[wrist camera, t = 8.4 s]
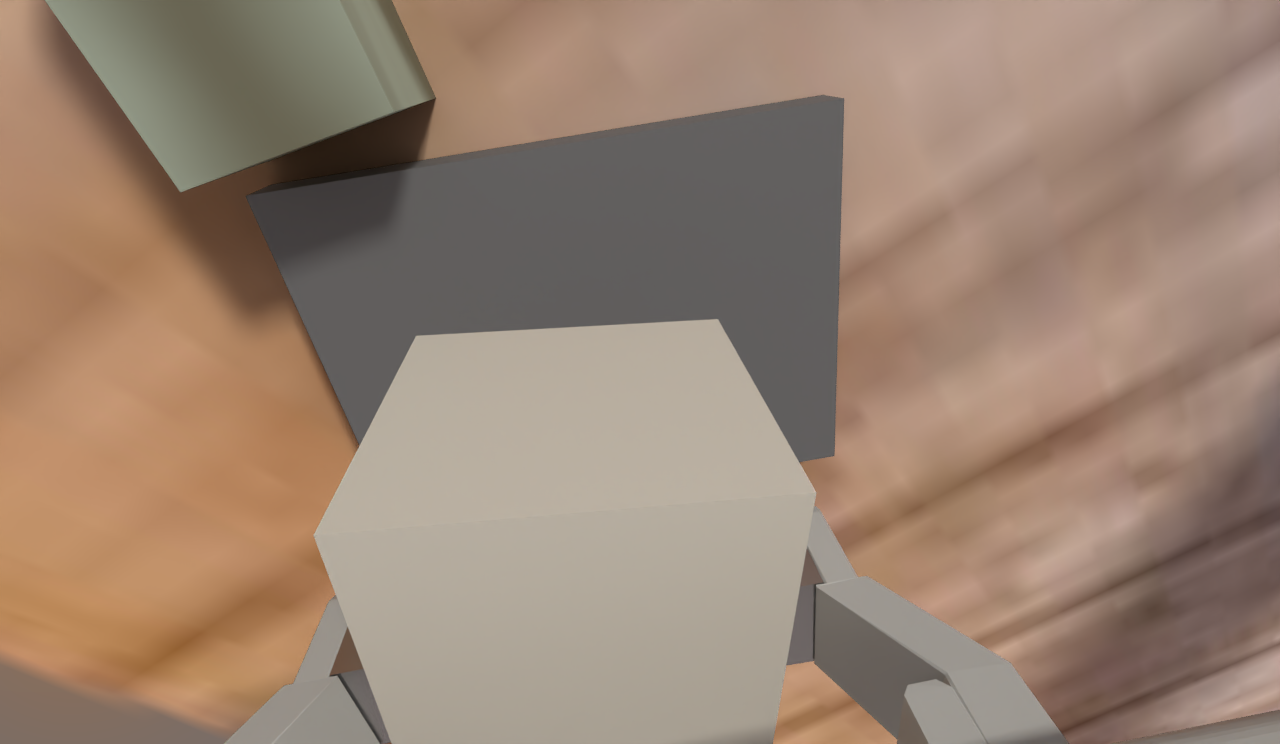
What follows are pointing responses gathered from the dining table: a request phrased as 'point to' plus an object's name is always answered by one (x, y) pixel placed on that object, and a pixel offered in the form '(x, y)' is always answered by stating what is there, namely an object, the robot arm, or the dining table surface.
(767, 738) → the cream brick
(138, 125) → the sage brick
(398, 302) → the base plate
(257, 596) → the dining table surface
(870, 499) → the dining table surface
